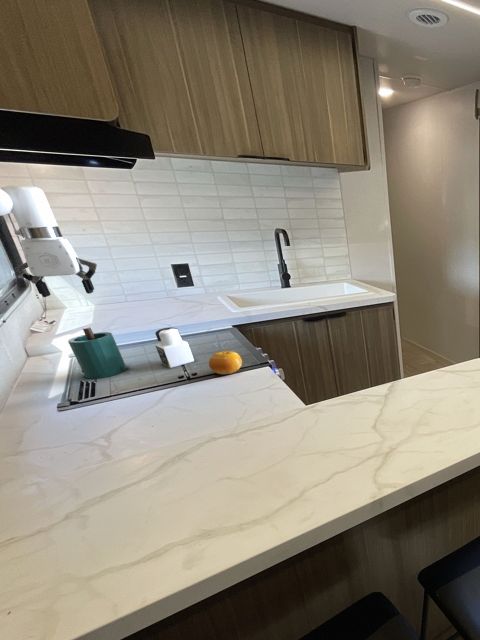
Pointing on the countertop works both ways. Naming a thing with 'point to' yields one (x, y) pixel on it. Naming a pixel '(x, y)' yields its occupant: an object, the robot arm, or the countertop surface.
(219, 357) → the fruit
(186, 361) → the medicine bottle
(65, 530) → the countertop surface
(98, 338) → the jar
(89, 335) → the brush
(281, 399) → the countertop surface
